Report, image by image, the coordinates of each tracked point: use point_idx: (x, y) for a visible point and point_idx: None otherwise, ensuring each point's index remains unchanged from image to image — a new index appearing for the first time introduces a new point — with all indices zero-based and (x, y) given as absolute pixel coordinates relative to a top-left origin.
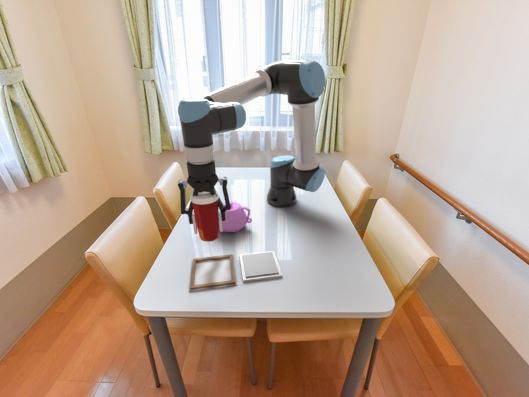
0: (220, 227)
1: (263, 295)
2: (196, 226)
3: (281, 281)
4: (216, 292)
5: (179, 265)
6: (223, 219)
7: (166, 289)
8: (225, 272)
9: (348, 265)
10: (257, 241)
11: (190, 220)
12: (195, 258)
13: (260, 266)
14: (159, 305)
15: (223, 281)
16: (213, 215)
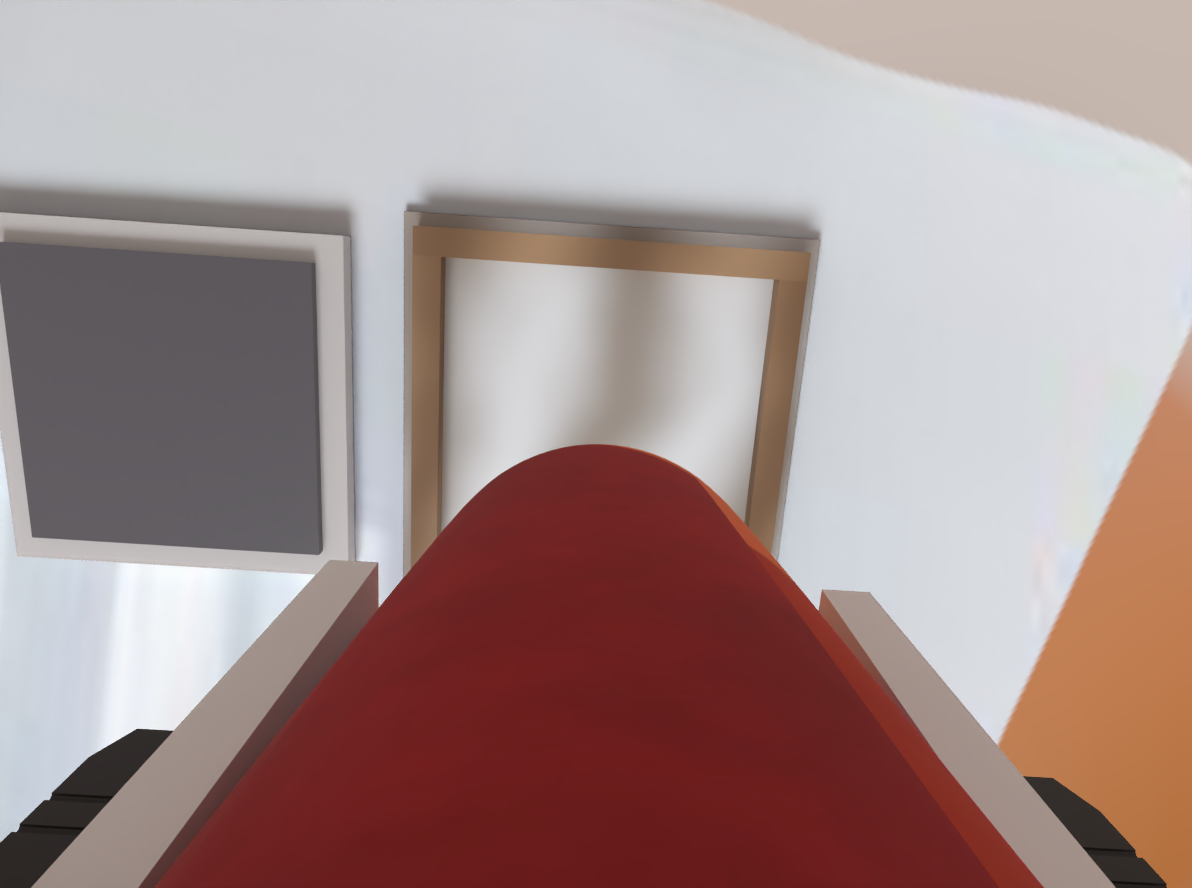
0: (328, 606)
1: (186, 27)
2: None
3: (4, 159)
4: (591, 172)
5: (876, 575)
6: (144, 761)
7: (997, 315)
8: (494, 391)
9: None
10: (174, 726)
11: (1105, 866)
12: None
13: (161, 365)
14: (1062, 144)
15: (518, 259)
16: (272, 799)
